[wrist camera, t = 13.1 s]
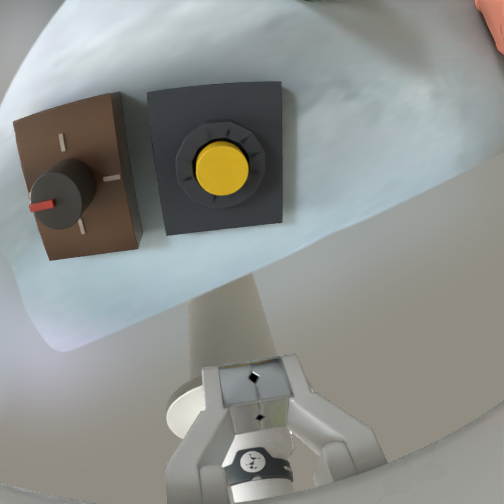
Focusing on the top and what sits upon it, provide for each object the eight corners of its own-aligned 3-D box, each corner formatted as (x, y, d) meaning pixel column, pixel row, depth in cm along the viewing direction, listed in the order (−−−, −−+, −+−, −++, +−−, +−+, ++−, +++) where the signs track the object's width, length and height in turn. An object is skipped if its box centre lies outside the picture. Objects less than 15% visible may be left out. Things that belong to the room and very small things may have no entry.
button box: (276, 212, 29) (287, 232, 26) (168, 224, 28) (165, 246, 25) (274, 81, 23) (287, 81, 20) (150, 91, 22) (142, 93, 18)
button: (246, 185, 24) (249, 193, 22) (198, 190, 23) (198, 198, 22) (244, 139, 22) (247, 143, 20) (193, 143, 21) (193, 148, 20)
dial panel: (143, 232, 28) (138, 250, 25) (59, 244, 27) (48, 262, 24) (120, 91, 21) (110, 92, 18) (28, 116, 20) (11, 122, 17)
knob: (90, 153, 20) (73, 167, 17) (101, 206, 23) (87, 227, 20) (43, 165, 20) (21, 180, 17) (55, 214, 22) (37, 236, 19)
